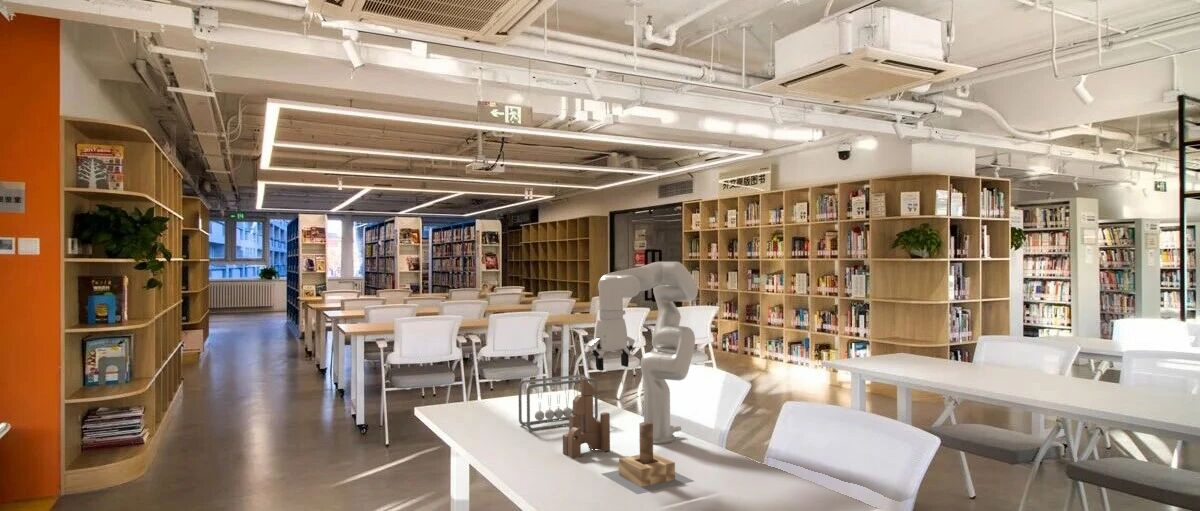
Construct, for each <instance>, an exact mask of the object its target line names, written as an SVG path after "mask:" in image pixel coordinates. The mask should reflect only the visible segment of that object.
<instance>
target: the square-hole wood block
mask: <svg viewBox="0 0 1200 511" xmlns="http://www.w3.org/2000/svg"><path fill="white" fill-rule="evenodd" d="M618 470H619V475H620V476H622V477H624V478H625V479H627V480H629V481H631V482H633V483H635V484H637V485H638V486H640V487H644V486H648V485H653V484H657V483H661V482H666V481H670V480H675V472H676V463H675V462H674V461H672V460H671V459H667V458H665V457H663V456H661V455H659V454H656V453H654V452H653V463H650V464H645V465H644V464H642V463H640V454H637V455H636V454H635V455H631V456H626V457H620V458H618Z"/></svg>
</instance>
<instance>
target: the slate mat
mask: <svg viewBox="0 0 1200 511" xmlns="http://www.w3.org/2000/svg"><path fill="white" fill-rule="evenodd" d="M601 475H602V476H604V477H606V478H608V479H609V480H611V481H612V482H615V483H616V484H619V485H620V486H622V487H624V488H625V489H628V490H629V491H631V492H633V493H634V494H636V495H640V494H643V493H648V492H652V491H657V490H661V489H665V488H666V489H667V488H670V487H674V486H675V487H676V486H679V485H684V484H688V483H693V482H694V480H693V479H692V478H688V477H686V476H685V475H682V474H681V473H678V472H677V471H675V480H670V481H666V482H661V483H657V484H653V485H648V486H644V487H640V486H638V485H637V484H635V483H633V482H631V481H629V480H627V479H625V478H624V477H622V476H620V475H619V469H617V470H612V471H608V472H603V473H602V472H601Z"/></svg>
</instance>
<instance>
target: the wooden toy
mask: <svg viewBox="0 0 1200 511" xmlns="http://www.w3.org/2000/svg"><path fill="white" fill-rule="evenodd" d="M580 379H581V382H580V394H576V395H575V396H574V398H573V400H572V408H573V414H571V415H569V419H568V423H569V426H568V429H569V430H568V433H566V434H565V433H563V435H562V453H564V454H563V455H565V456H568V457H570V458H571V457H575V458H579V457H578V456H580V457H581V452H582V451H581V449H582V448H581V445H583V444H586V445H587V446H588V447H587V448H588V449H589V448H591V449H593V450H595V449H600V451H601V450H602V451H601V452H603V451H608V452H609V450H611V427H610V426H611V416H610V413H609V412H605V411H604V412H601V413H600V414H599V416H600V417H599V420H600V421H599V420H595V416H594V396H595V395H600V392H599V391H598V389H597V390H596V389H595V386H593V385H592V384H591V383H590V381H587V380H586V379H584V378H583V377H580ZM591 449H590V450H591ZM593 450H592V451H593ZM595 451H596V450H595Z"/></svg>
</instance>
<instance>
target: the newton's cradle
mask: <svg viewBox="0 0 1200 511" xmlns="http://www.w3.org/2000/svg"><path fill="white" fill-rule="evenodd" d="M579 378H580V379H579ZM581 378H584V379H586V380H587V381H588V382H594V388H595V389H596V390H597V391H598V381H597V379H595V378H594V377H592V378H591V377H588V376H586V375H585V374H574V375H565V376H555V377H554V376H553V377H543V378H534V379H533V378H532V379H523V380H521V381H520V382H519V383H518V388H517V389H518V422H519V424H520V425H522V426H526V427H527V429H528V431H531V430H535V431H540V430H539V429H542V430H545V429H546V428H549V429H552V428H551V427H556V426H563V425H569V422H565V423H559V424H551V425H550V424H549V425H543V426H535V427H531V425H535V424H534V423H537V424H541V423H540V422H545V423H548V422H547V421H553V420H559V419H568V420H569V415H572V414H573V407H572V408H571V407H569V406H566V407H565V408H563V410H562V409H561V408H560V407H557V408H556V409H554V410H552V409H551V408H548V410H546V411H545V412H544V411H542V410H541V408H542V407H541V406H542V405H541V404H542V403H539V407H538V411H536V412H535V414H534V418H535V419H536V420H533V421H531V406H530V405H531V404H530V403H531V402H530V401H531V397H530V396H531V395H530V394H531V389H532V388H537V392H538V393H537V394H538V397H540V398H542V397H543V392H541V394H540V391H539V387H546V388H547V391H549V388H548V386H551V387H550V389H552V388H553V386H555V388H556V390H555V391H558V388H557V386H558V385H559V388H561V385H570V384H579V383H581ZM570 379H571V380H570ZM561 380H563V381H561ZM541 382H543V383H541ZM531 383H532V384H531ZM523 384H526V385H528V386H527V388H526V421H523V420H522V419H523V418H522V416H523V414H522V412H523V411H522V410H523V409H522V386H523ZM564 389H565V390H564V391H565V393H568V396H567V397H568V398H565V401H566V402H565V404H566V405H568V400H569V396H570V392H567V390H566V389H567V388H566V386H564ZM578 389H579V387H577V391H576V392H575V390H576V389H573V394H574V396H576V395H579V393H578ZM539 394H540V395H539ZM598 395H599V394H598ZM598 395H594V418H595V420H596V421H598V416H599V414H598V413H599V412H598V410H599V408H598V406H599V404H598V397H599V396H598ZM556 398H557V399H556V401H557V403H560V402H561V399H560V398H561V395H559V397H556ZM558 398H559V400H558ZM547 399H548V401H547V402H548V403H549V405H551V402H552V401H551V400H552V397H550V398H549V396H547ZM563 416H564V417H563ZM554 417H555V418H554ZM544 418H545V419H544ZM553 422H554V421H553ZM556 428H557V427H556ZM546 430H547V429H546Z"/></svg>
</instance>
